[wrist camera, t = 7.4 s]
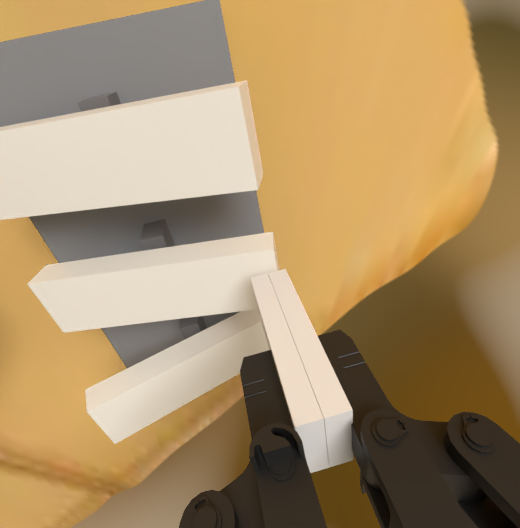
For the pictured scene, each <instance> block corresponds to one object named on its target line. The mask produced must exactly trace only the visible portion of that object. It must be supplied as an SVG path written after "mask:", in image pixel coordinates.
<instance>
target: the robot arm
mask: <svg viewBox="0 0 520 528" xmlns="http://www.w3.org/2000/svg"><path fill="white" fill-rule="evenodd" d="M250 279H251V283H252V287H253V291H254V295H255V299H256V304H257V308H258V312H259V316H260V320H261V324H262V328H263V331H264V335H265V338H266V341H267V345H268V348H269V350H268V351H265V352H261V353H257V354H254V355H250V356H247V357H244V358H243V361H242V365H241V369H240V374H241V380H242V385H243V391H244V397H245V403H246V408H247V413H248V420H249V425H250V430H251V437H252V442H251V444H250V456H249V458H250V462H249V464H248V466H247V468H246V469H245V471H244V472H243V473H242V474H241V475H240V476H239V477H238V478H237V479H235V480H234V481H233V482H232V483H230V484H229V485H227V486H226V487H225V488H223V489H222V490H221V491H214V490H210V491H205V492H202V493H200V494H199V495H197V496H196V497H195V498H193V499H192V500H191V502H190V503H189V504H188V506H187V507H186V509H185V511H184V513H183V516H182V519H181V522H180V526H179V528H327V526H326V523H325V520H324V517H323V513H322V510H321V507H320V504H319V500H318V497H317V494H316V490H315V487H314V484H313V481H312V477H311V474H310V473H312V472H316V471H319V470H322V469H326V468H329V467H332V466H335V465H339V464H342V463H345V462H348V461H352V460H353V453H354V456H355V458H356V460H357V463H358V465H359V467H360V486H361V490H362V493H367V495H368V497H369V500H370V502H371V504H372V507H373V509H374V511H375V514H376V517H377V519H378V522H379V524H380V526H381V528H520V444H519V443H518V442H517V441H516V440H515V439H514V438H512V437H511V436H510V435H509V434H508V433H507V432H505V431H504V430H503V429H502V428H501V427H500V426H498V425H497V424H496V423H494V422H493V421H491V420H490V419H488V418H487V417H485V416H482V415H479V414H476V413H471V412H470V413H469V412H462V413H459V414H456V415H454V416H453V417H452V418H451V419H450V420H449V422H434V421H420V420H414V419H412V418H409V417H406V416H405V415H403V414H401V413H400V412H398V411H397V410H396V409H395V408H394V407H393V406H392V405H391V404H390V402H389V401H388V399H387V398H386V396H385V394H384V392H383V391H382V389H381V387H380V386H379V384H378V382H377V381H376V379H375V378H374V376H373V374H372V373H371V371H370V369H369V367H368V366H367V364H366V363H365V361H364V359H363V357H362V355H361V354H360V353H359V351H358V349H357V347H356V345H355V344H354V342H353V340H352V339H351V338H350V337H349V336H347V335H346V334H345V333H343V332H342V331H341V330H337V331H333V332H330V333H326V334H323V335H319V336H317V334H316V332H315V330H314V328H313V326H312V324H311V322H310V319H309V317H308V315H307V313H306V311H305V309H304V307H303V305H302V303H301V301H300V298H299V296H298V294H297V292H296V290H295V288H294V286H293V284H292V282H291V280H290V278H289V275H288V273H287V271H286V269H282V270H279V271H275V272H271V273H267V274H263V275H260V276H256V277H252V278H250Z"/></svg>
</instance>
